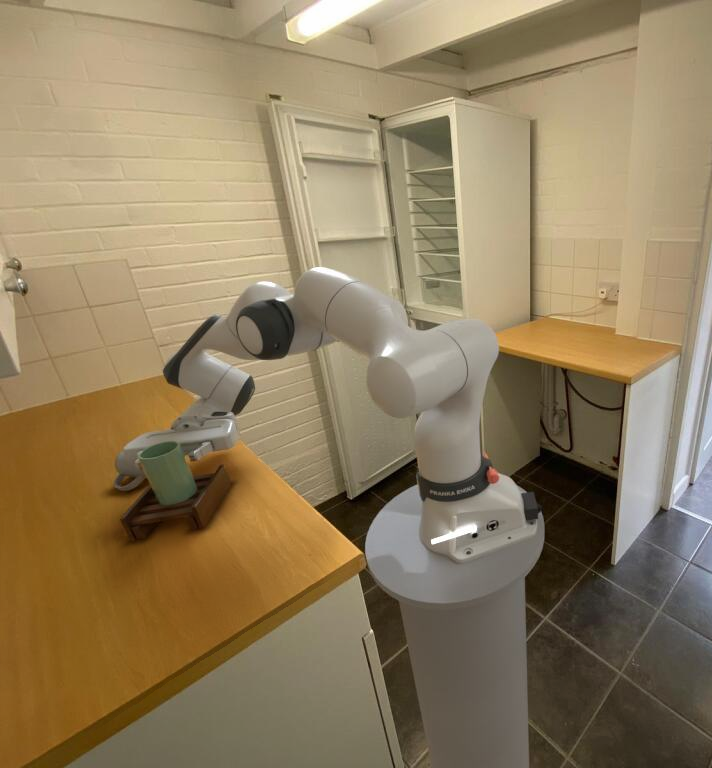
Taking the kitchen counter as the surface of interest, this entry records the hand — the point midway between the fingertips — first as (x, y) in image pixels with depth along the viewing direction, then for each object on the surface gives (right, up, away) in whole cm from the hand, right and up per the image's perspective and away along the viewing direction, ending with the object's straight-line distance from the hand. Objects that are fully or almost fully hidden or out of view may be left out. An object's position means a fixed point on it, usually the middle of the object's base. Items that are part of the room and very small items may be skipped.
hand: (167, 461), depth 84 cm
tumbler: (0, -7, +2) cm, 8 cm away
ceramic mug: (-18, -7, +15) cm, 24 cm away
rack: (+1, -11, +4) cm, 12 cm away
